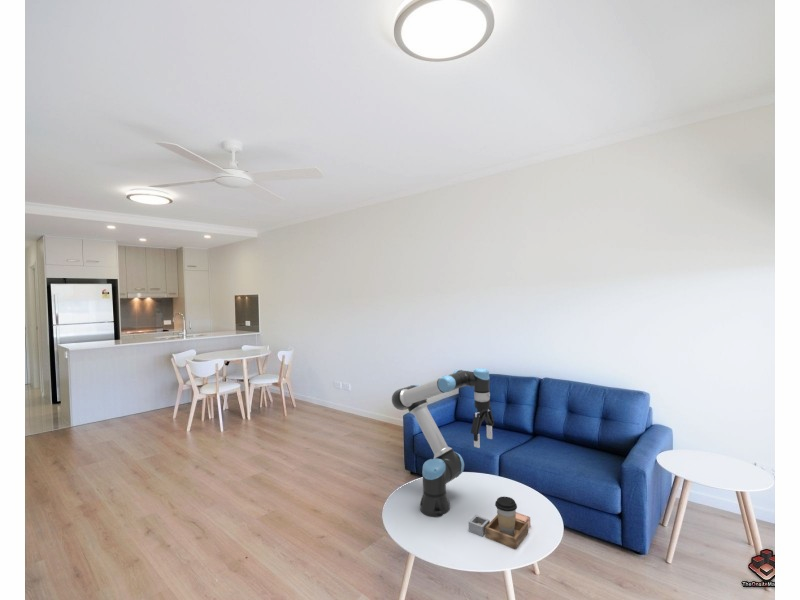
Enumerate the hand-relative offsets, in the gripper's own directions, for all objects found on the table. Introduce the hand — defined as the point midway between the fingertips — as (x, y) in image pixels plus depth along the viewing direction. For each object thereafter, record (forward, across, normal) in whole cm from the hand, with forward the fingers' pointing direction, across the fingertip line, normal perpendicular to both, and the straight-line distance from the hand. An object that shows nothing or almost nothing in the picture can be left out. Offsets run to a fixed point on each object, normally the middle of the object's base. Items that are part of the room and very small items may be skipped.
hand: (483, 442), depth 191 cm
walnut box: (+35, -12, -16) cm, 40 cm away
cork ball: (+34, -16, -5) cm, 38 cm away
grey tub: (+35, -16, -5) cm, 39 cm away
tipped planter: (+35, -2, -19) cm, 40 cm away
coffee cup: (+34, -12, -16) cm, 40 cm away
